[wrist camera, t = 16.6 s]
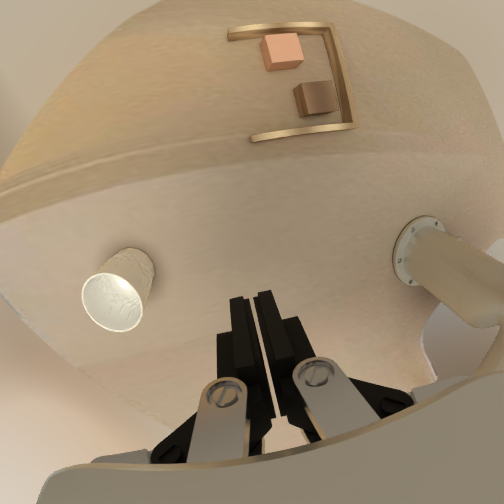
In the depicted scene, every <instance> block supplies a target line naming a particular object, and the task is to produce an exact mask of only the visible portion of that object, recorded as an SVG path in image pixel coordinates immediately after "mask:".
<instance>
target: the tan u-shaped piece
mask: <svg viewBox="0 0 504 504" xmlns="http://www.w3.org/2000/svg"><path fill="white" fill-rule="evenodd" d="M286 33H297V35H308V34H322V35H323V38H324V41H325V45H326V49H327V52H328V56H329V60H330V64H331V68H332V72H333V76H334V80H335V85H336V89H337V94H338V99H339V103H340V108H341V114H342V119H343V123H340V124H329V125H320V126H311V127H303V128H295V129H288V130H281V131H275V132H269V133H263V134H257V135H252V136H250V137H249V139H250V143H252V142H257V141H263V140H268V139H274V138H280V137H287V136H294V135H301V134H308V133H316V132H325V131H335V130H345V129H355V128H359V124H358V118H357V113H356V107H355V102H354V97H353V93H352V88H351V84H350V79H349V75H348V71H347V67H346V63H345V59H344V55H343V52H342V48H341V44H340V41H339V38H338V34H337V31H336V28H335V25H334V23H330V22H284V23H268V24H256V25H247V26H239V27H232V28H228V35H227V37H228V41H235V40H242V39H249V38H258V37H264V36H265V35H273V34H286Z"/></svg>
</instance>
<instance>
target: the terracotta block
mask: <svg viewBox="0 0 504 504" xmlns="http://www.w3.org/2000/svg"><path fill="white" fill-rule="evenodd" d="M260 47H261V51H262V55H263V58H264V62H265V66H266V70H267V71H273V70H281V69H290V68H296V67H297V66H298V65H299V64H300V63H301V62H302V61H304V57H303V53H302V50H301V46H300V43H299V40H298V36H297V33H286V34H273V35H265V36H264V38H263V41H262V43H261V45H260Z"/></svg>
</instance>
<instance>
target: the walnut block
mask: <svg viewBox="0 0 504 504" xmlns="http://www.w3.org/2000/svg"><path fill="white" fill-rule="evenodd" d="M293 91H294V95H295V99H296V103H297V107H298V111H299V115H300V117H307V116H313V115H320V114H328V113H331V112H335V111H338V110H339V108H338V104H337V100H336V96H335V92H334V88H333V84H332V81H331V80H330V81H318V82H309V83H301V84H300V85H298V86H297V87H296V88H295V89H293Z"/></svg>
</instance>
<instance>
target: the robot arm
mask: <svg viewBox="0 0 504 504" xmlns="http://www.w3.org/2000/svg"><path fill="white" fill-rule="evenodd" d="M393 266H394V270H395V273H396V275H397V277H398V278H399V279H400V280H401V281H402V282H403V283H405V284H406V285H409V286H419V285H422V286H423V287H424V288H425V289H427V290H428V291H429V292H430V293H432V294H433V295H434V296H435V297H436V298H438V299H439V300H440V301H441V302H443V303H444V304H445V305H446V306H447V307H449V308H450V309H451V310H452V311H454V312H455V313H456V314H457V315H458V316H459V317H460V318H462V319H463V320H464V321H465V322H466V323H467V324H469V325H470V326H472V327H475V328H480V329H484V328H490V327H494V326H498V325H500V329H499V332H498V334H497V336H496V338H495V341H494V342H493V344H492V346H491V347H490V349H489V351H488V352H487V354H486V356H485V357H484V359H483V361H482V362H481V364H480V365H479V367H478V368H477V370H476V371H475V373H474V375H473V376H472V377H469V376H465V375H460V376H456V377H452V378H449V379H446V380H443V381H439V382H436V383H432V384H429V385H425V386H421V387H417V388H413V389H412V391H411V392H409V393H406V392H403V391H401V390H397V389H393V388H388V387H384V386H380V385H376V384H372V383H368V382H364V381H360V380H356V379H353V378H349V377H347V376H346V375H345V373H344V372H343V371H342V370H341V368H340V367H339V366H338V365H337V364H336V363H335V362H334V361H333V360H331V359H329V358H325V357H316V355H315V353H314V351H313V349H312V346H311V344H310V342H309V340H308V338H307V335H306V333H305V331H304V329H303V326H302V324H301V322H300V320H299V318H298V316H295V317H291V318H287V319H283V320H282V319H281V316H280V314H279V311H278V308H277V305H276V303H275V300H274V297H273V294H272V291H271V290H268V291H263V292H259V293H258V296H257V297H253V299H254V304H255V308H256V312H257V317H258V321H259V325H260V330H261V334H262V338H263V343H264V347H265V351H266V356H267V360H268V364H269V368H270V373H271V377H272V381H273V385H274V389H275V394H276V398H277V402H278V406H279V410H280V414H281V417H282V416H286V415H287V418H288V422H289V423H290V424H292V425H294V426H296V427H299V428H300V429H301V432H302V434H303V436H304V438H305V440H306V442H307V445H303V446H299V447H295V448H291V449H286V450H282V451H277V452H272V453H267V454H265V439H264V436H265V434H266V433H267V432H268V431H269V430H270V429H271V427H272V423H271V419H273V418H276V414H275V410H274V405H273V401H272V396H271V392H270V387H269V383H268V378H267V374H266V369H265V365H264V360H263V355H262V351H261V347H260V343H259V339H258V335H257V330H256V326H255V322H254V318H253V314H252V310H251V305H250V301H249V298H248V299H244V298H243V296H241V297H236V298H232V299H230V313H231V325H232V331H230V332H225V333H220V334H217V379H216V380H214V381H212V382H211V383H209V384H208V385H207V386H206V387H205V388H204V389H203V392H202V394H201V398H200V402H199V407H198V411H197V412H196V413H195V414H194V415H193V416H191V417H190V418H189V419H188V420H187V421H186V422H184V423H183V424H182V425H181V426H180V427H178V428H177V429H176V430H175V431H174V432H173V433H171V434H170V435H169V436H168V437H166V438H165V439H164V440H163V441H162V442H160V443H159V444H158V445H157V446H156V447H155V448H154V449H153V450H152V451H148V450H147V449H143V450H138V451H132V452H127V453H121V454H115V455H108V456H101V457H98V458H96V459H94V460H93V461H92V462H91V463H88V464H79V465H74V466H70V467H66V468H63V469H60V470H58V471H56V472H54V473H52V474H51V475H50V476H49V477H48V478H47V480H46V481H45V483H44V485H43V487H42V489H41V492H40V494H39V497H38V500H37V503H36V504H504V264H503V263H501V262H500V261H498V260H496V259H494V258H492V257H490V256H489V255H487V254H485V253H483V252H482V251H480V250H478V249H476V248H474V247H472V246H470V245H468V244H466V243H464V242H463V239H462V237H460V236H459V237H456V238H454V237H452V236H450V235H448V234H447V233H446V230H445V227H444V226H443V224H442V223H441V222H440V221H439V220H437V219H435V218H433V217H430V216H422V217H419V218H417V219H415V220H413V221H412V222H410V223H409V224H408V225H407V226H406V227H405V228H404V230H403V231H402V233H401V234H400V236H399V238H398V240H397V243H396V246H395V249H394V254H393Z"/></svg>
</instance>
